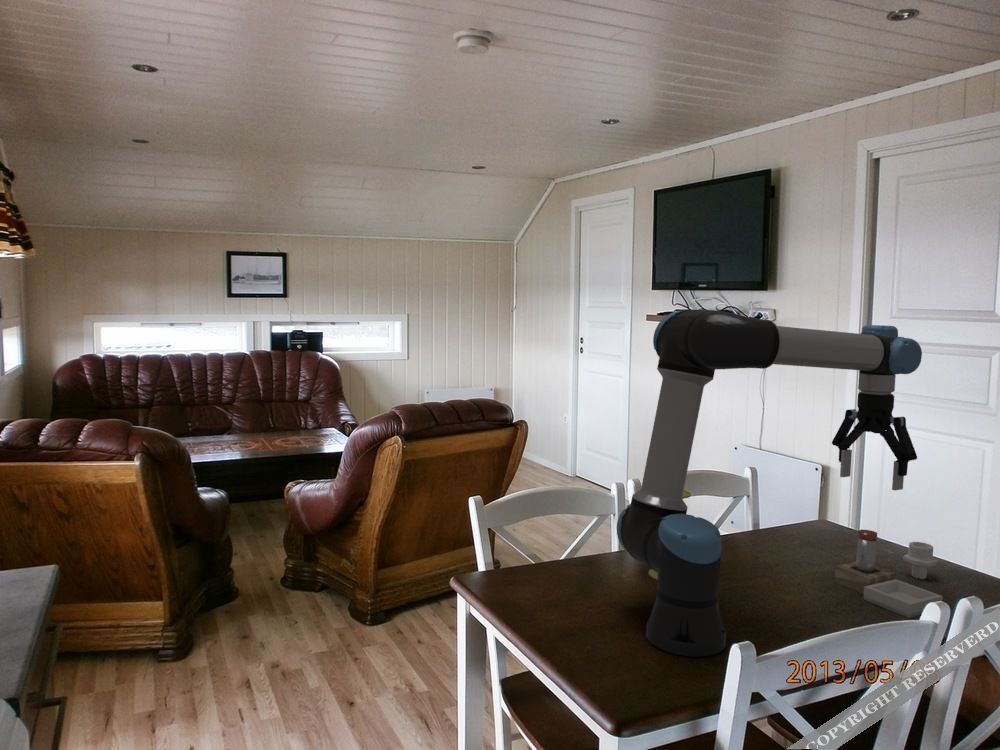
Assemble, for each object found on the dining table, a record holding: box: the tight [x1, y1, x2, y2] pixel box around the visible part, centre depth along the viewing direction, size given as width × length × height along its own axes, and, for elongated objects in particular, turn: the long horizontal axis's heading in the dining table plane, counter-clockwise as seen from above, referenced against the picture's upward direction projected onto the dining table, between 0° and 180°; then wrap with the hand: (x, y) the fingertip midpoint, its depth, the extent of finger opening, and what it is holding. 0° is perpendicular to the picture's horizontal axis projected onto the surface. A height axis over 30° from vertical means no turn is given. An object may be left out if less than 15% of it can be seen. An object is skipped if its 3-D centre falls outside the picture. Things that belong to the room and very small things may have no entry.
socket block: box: [834, 561, 896, 595], centre depth 176 cm, size 9×9×4 cm
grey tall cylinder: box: [855, 529, 878, 575], centre depth 175 cm, size 4×4×13 cm
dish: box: [863, 578, 944, 619], centre depth 165 cm, size 11×11×3 cm
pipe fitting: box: [902, 541, 938, 580], centre depth 182 cm, size 6×7×8 cm
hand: (870, 483), depth 174 cm, fingers open, 13 cm apart
